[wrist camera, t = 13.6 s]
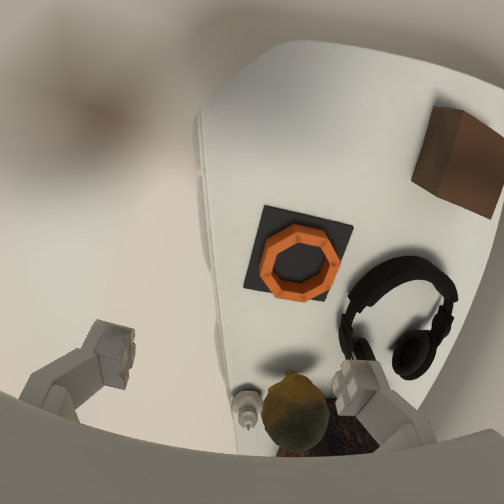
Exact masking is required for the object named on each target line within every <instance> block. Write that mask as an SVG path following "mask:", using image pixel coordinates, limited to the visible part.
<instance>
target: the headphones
mask: <svg viewBox="0 0 504 504" xmlns="http://www.w3.org/2000/svg"><path fill="white" fill-rule="evenodd" d="M412 280H426V281H429V282H431V283H432V284H433V285H434V287H435V288H436V290H437V291H438V292H439V293H440V294H441V295H442V296H443V297H444V303H443V306H442V305H440V306H439V310H438V313H437V314H436V315H435V316H434V318H433V321H432V328H431V330H430V331H429V330H413V331H410V332H409V333H407V334H406V335H404V336H403V337H402V338H401V339H400V341H399V342H398V344H397V345H396V348H395V350H394V353H393V357H392V367H393V370H394V371H395V373H396V374H398V375H400V377H401V378H403V379H404V380H414V379H417V378H419V377H420V376H422V375H423V374H424V373H425V372H426V371H427V370H428V369H429V367H430V366H431V364H432V362H433V360H434V358H435V355H436V350H437V347H438V346H439V345H440V343H441V342H442V340H443V339H444V337H446V336H447V335H448V334H449V332H450V330H451V324H452V322H453V320H454V317H453V316H452V315H451V314H452V310H453V303H455V302H457V301H458V294H457V290H456V287H455V284H454V283H453V281H452V280H451V279H450V278H449V277H448V276H447V275H446V274H444V273H443V272H442V271H441V270H440V269H438V268H437V267H436V266H435V265H433V264H432V263H431V262H429V261H428V260H426V259H424V258H421V257H416V256H404V257H398V258H394V259H391V260H388V261H386V262H384V263H382V264H380V265H378V266H377V267H375V268H374V269H372V270H371V271H370V272H368V273H367V274H366V275H365V276H364V277H363V278H362V279H361V280H360V281H359V282H358V283H357V284H356V286H355V287H354V288H353V289H352V290H351V292H350V293H349V294H348V298H349V300H350V303H349V305H348V308H347V310H346V314H342V318H341V326H340V327H339V342H340V346H341V349H342V352H343V353H344V355H345V358H346V360H351V358H352V360H366V361H376V359H375V356H374V354H373V351H372V349H371V347H370V345H369V343H368V341H367V340H366V339H365V338H363V337H361V338H359V339H358V340H356V341H355V340H353V337H352V334H353V328H352V326H351V325H352V322H353V319H354V317H355V315H356V313H357V312H358V313H361V312H362V311H363V309H364V308H365V307H366V306H369V307H371V306H373V305H374V304H375V303H376V302H377V301H378V300H379V299H381V298H382V297H383V296H384V295H385V294H386V293H388V292H389V291H390V290H392V289H393V288H395V287H397V286H399V285H401V284H403V283H405V282H408V281H412Z"/></svg>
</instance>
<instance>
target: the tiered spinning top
mask: <svg viewBox="0 0 504 504" xmlns="http://www.w3.org/2000/svg"><path fill="white" fill-rule="evenodd" d="M231 408H232V411H233V412H236V413H238V414H239V423H240V425H241V426H242V427H243V428H244V427H245V426H246V427H247V429H248V431H249V428H250V427H252V428H254V426H255V425H256V423H257V414H258V413H261V412H262V409H263V399H262V398H261V397H260V396H259V394H258V393H257V392H255V391H248V390H245V391H241V392H239V393H238V394H237V395H236V396H235V397H234V398H233V400H232V405H231Z"/></svg>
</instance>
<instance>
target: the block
mask: <svg viewBox="0 0 504 504" xmlns="http://www.w3.org/2000/svg"><path fill="white" fill-rule="evenodd" d="M411 181H412V182H414V183H415V184H417V185H419V186H420V187H422V188H423V189H425V190H427V191H428V192H430V193H431V194H433V195H435V196H436V197H439V198H441V199H444V200H446V201H448V202H451V203H453V204H456V205H458V206H460V207H463V208H465V209H467V210H470V211H472V212H474V213H477V214H479V215H481V216H483V217H485V218H488V219H490V220H491V218H492V215H493V213H494V210H495V207H496V205H497V202H498V199H499V197H500V194H501V191H502V188H503V185H504V137H502V136H501V135H500V134H498V133H497V132H495V131H494V130H493V129H491V128H490V127H488V126H487V125H485V124H484V123H482V122H481V121H479V120H478V119H476V118H474V117H473V116H471V115H470V114H468V113H466V112H465V111H463V110H458V109H452V108H445V107H438V106H434V107H433V111H432V115H431V118H430V122H429V126H428V129H427V133H426V136H425V139H424V143H423V146H422V149H421V152H420V156H419V159H418V162H417V165H416V168H415V171H414V174H413V177H412V180H411Z"/></svg>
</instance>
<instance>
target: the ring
mask: <svg viewBox="0 0 504 504" xmlns="http://www.w3.org/2000/svg"><path fill="white" fill-rule="evenodd" d="M298 242H299V243H304V244H308V245H313V246H318V247H321V249H322V251H323V252H324V254H325V256H326V257H325V259H324V262H323V265H322V267H321V270H320V273H319V274H317V275H316V276H314V277H312V278H310V279H308V280H306V281H304V282H302V283H301V284H300V283H295V282H289V281H283V280H280V279H279V277H278V276H277V274H276V273H275V271H274V270H273V266H274V263H275V260H276V256H277V254H278V253H280V252H282V251H284V250H285V249H287V248H289V247H291V246H293V245H294V244H296V243H298ZM340 264H341V262H340V260H339V258H338V256H337V254H336V252H335V250H334V249H333V247H332V245H331V243H330V241H329V239H328V237H327V236H326V234H325V232H324V230H320V229H315V228H311V227H307V226H302V225H298V224H292V225H291V226H289V227H287V228H285V229H284V230H282V231H280V232H278V233H277V234H275V235H273V236H271V237H269V238H268V239H266V243H265V246H264V250H263V254H262V257H261V261H260V264H259V270H260V277H261V278H262V279H263V281H264V282H265V284H266V285H267V286H268V288H269V289H270V291H271V292H272V293H273V295H274V296H275V297H276V298H281V299H287V300H293V301H299V302H306V301H308V300H310V299H312V298H314V297H316V296H317V295H319V294H321V293H323V292H325V291H327V290H329V289H330V288H331V286H332V284H333V281H334V279H335V276H336V274H337V272H338V269H339V267H340Z"/></svg>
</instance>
